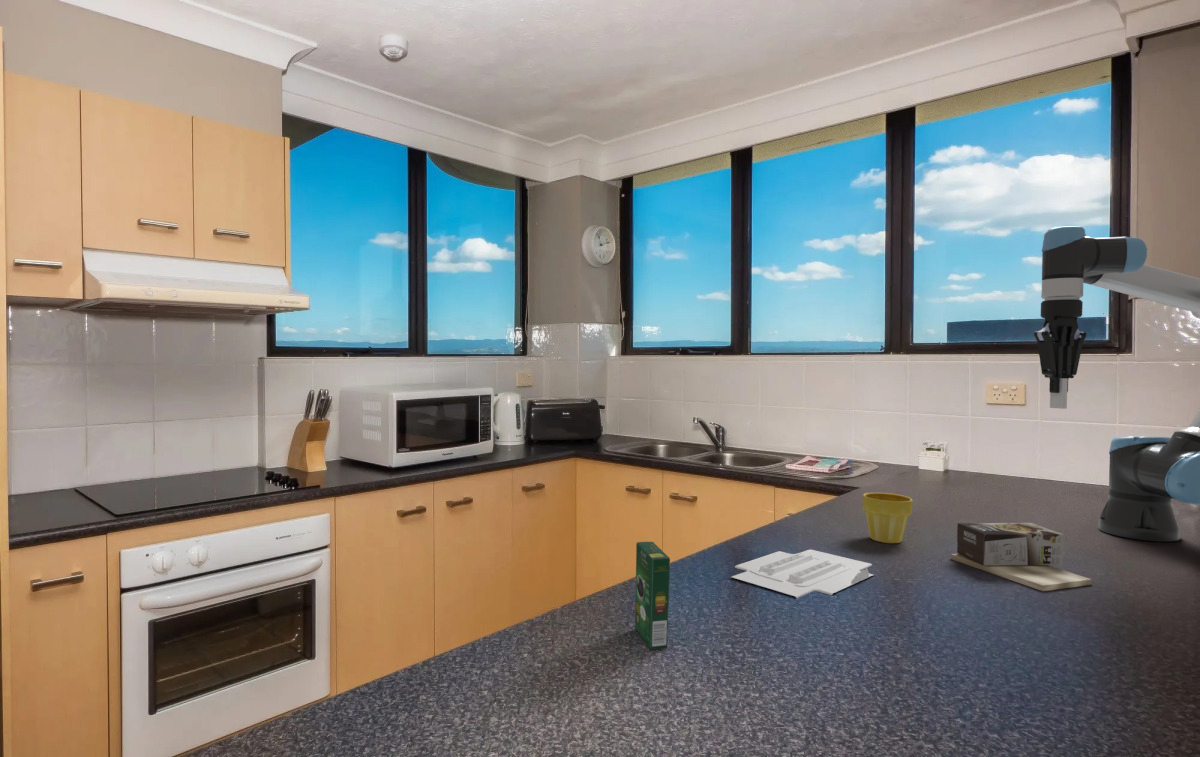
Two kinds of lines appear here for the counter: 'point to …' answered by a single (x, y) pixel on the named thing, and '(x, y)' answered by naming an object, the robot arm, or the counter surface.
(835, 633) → the counter surface
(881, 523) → the plant pot
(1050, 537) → the coffee box
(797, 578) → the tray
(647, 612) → the coffee box
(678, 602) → the counter surface
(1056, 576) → the birch board
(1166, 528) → the robot arm
